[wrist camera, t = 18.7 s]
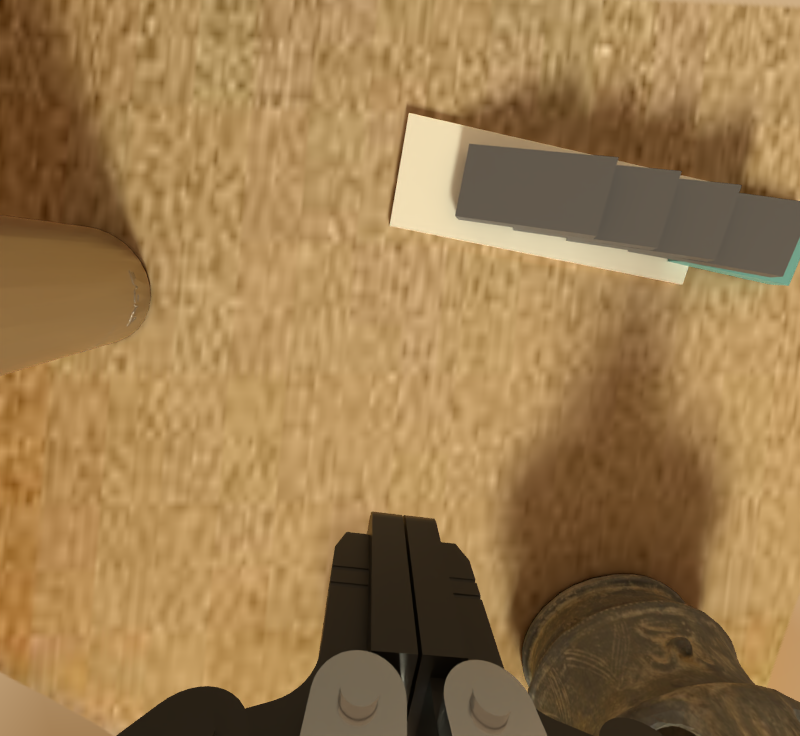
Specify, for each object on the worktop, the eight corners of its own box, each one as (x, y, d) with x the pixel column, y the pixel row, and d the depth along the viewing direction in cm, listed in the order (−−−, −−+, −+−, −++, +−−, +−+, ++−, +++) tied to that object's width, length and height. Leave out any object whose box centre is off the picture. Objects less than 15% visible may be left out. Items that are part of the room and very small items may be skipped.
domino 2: (512, 227, 31) (657, 248, 28) (528, 156, 30) (681, 171, 27) (513, 230, 32) (651, 250, 30) (528, 163, 31) (674, 177, 29)
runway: (389, 226, 32) (389, 225, 32) (408, 115, 31) (409, 112, 30) (677, 284, 35) (682, 284, 34) (711, 184, 33) (717, 183, 32)
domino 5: (682, 261, 32) (788, 285, 33) (705, 194, 31) (814, 222, 32) (667, 261, 33) (769, 284, 35) (689, 197, 32) (794, 224, 34)
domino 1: (455, 216, 30) (596, 235, 28) (469, 143, 29) (618, 157, 27) (458, 219, 32) (593, 238, 29) (472, 151, 31) (614, 164, 28)
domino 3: (567, 238, 31) (715, 260, 29) (585, 168, 30) (741, 185, 28) (565, 240, 33) (706, 261, 30) (583, 174, 32) (731, 190, 29)
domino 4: (632, 249, 31) (782, 276, 29) (655, 181, 30) (814, 203, 28) (627, 251, 33) (770, 277, 30) (649, 186, 32) (800, 208, 29)
